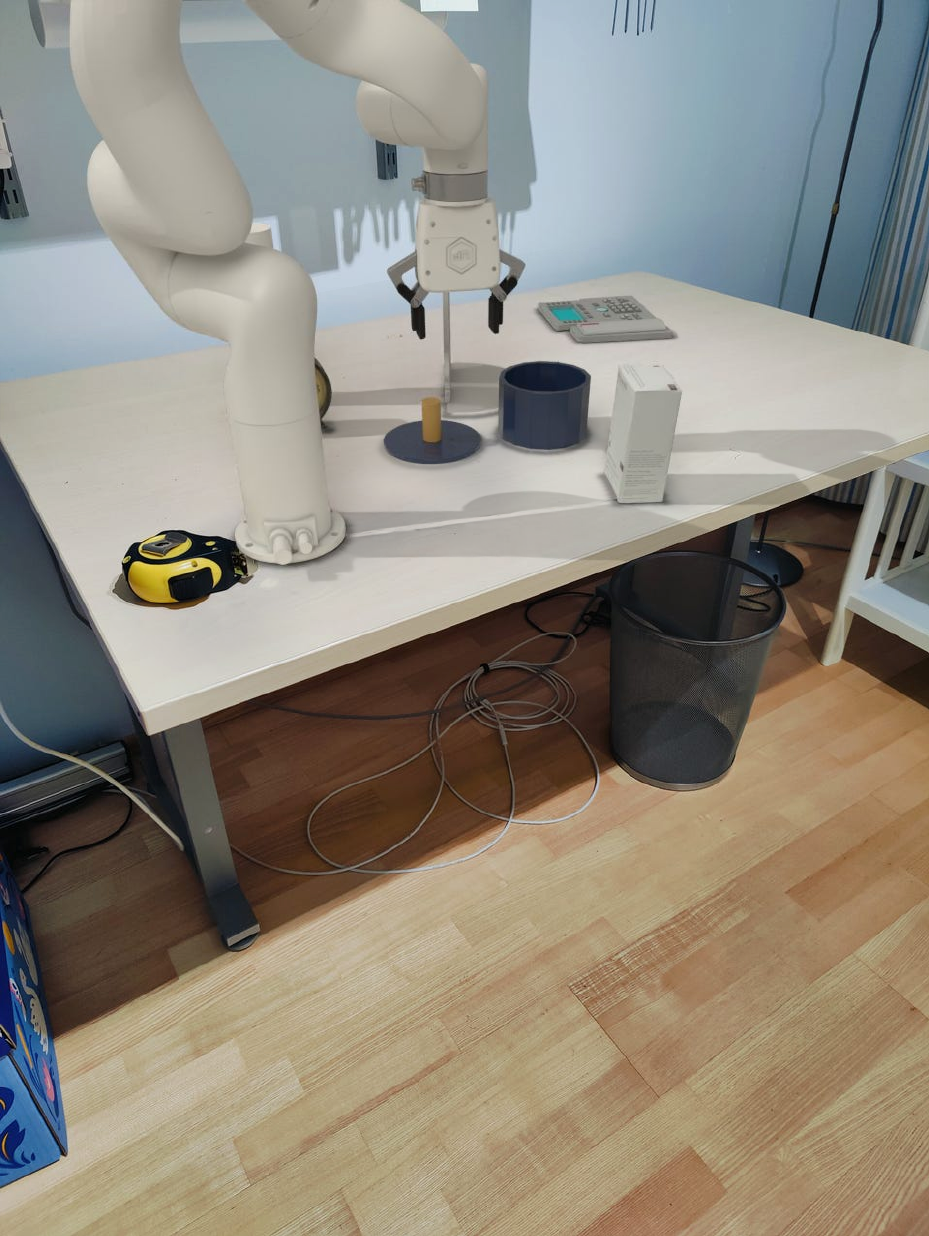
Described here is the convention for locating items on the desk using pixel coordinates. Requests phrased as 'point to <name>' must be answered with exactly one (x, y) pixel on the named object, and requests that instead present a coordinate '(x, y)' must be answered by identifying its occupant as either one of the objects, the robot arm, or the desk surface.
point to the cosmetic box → (642, 432)
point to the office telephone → (604, 319)
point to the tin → (543, 405)
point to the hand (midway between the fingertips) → (457, 333)
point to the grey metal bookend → (467, 378)
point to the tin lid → (432, 438)
